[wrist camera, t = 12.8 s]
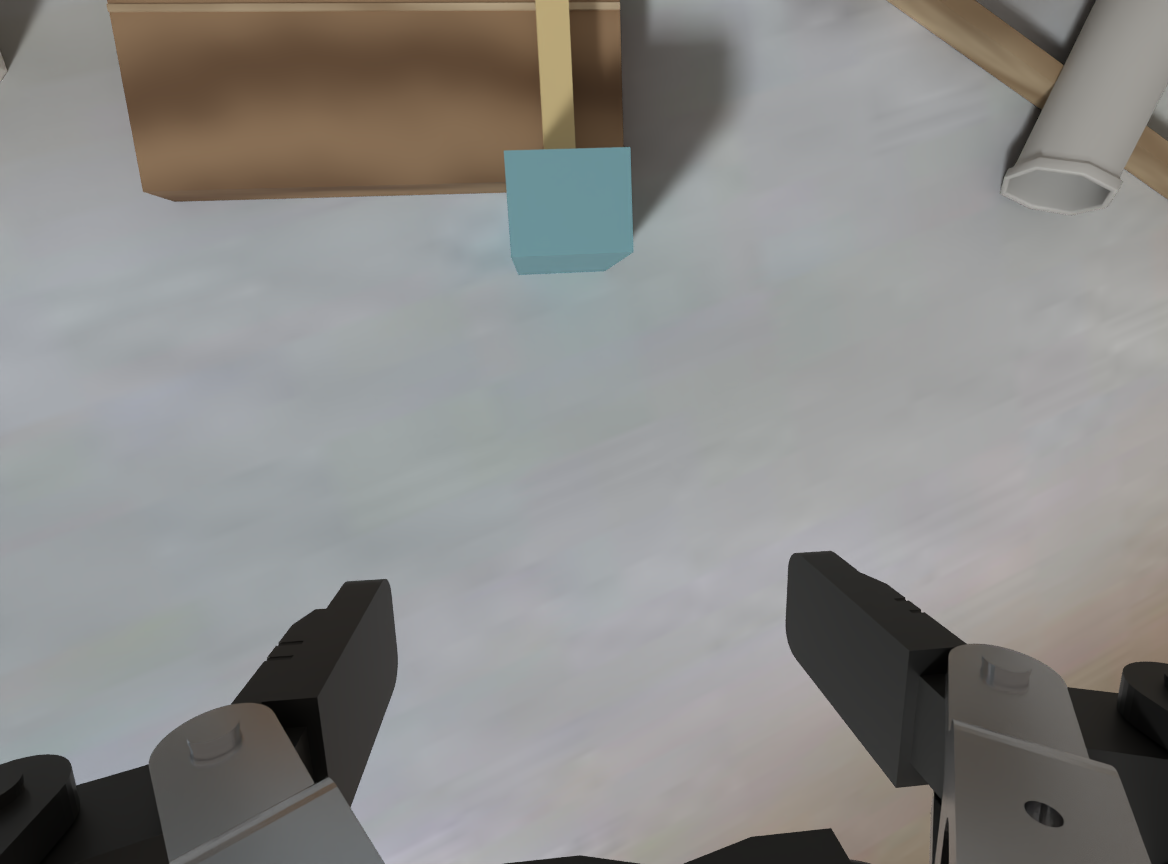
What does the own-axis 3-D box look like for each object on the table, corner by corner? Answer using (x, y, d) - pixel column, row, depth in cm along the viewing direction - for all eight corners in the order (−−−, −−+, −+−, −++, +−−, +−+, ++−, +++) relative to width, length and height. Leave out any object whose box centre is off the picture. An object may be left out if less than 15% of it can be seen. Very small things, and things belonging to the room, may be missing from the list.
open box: (617, 189, 32) (624, 178, 30) (174, 201, 31) (141, 191, 28) (611, -11, 30) (619, -41, 28) (136, -10, 28) (97, -43, 26)
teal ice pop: (604, 271, 33) (633, 252, 23) (518, 274, 33) (511, 257, 23) (594, 9, 30) (622, -136, 21) (500, 10, 30) (483, -137, 20)
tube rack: (1227, 241, 36) (1267, 237, 34) (828, -41, 31) (848, -65, 29) (1340, 73, 34) (1388, 59, 32) (939, -253, 29) (969, -293, 27)
